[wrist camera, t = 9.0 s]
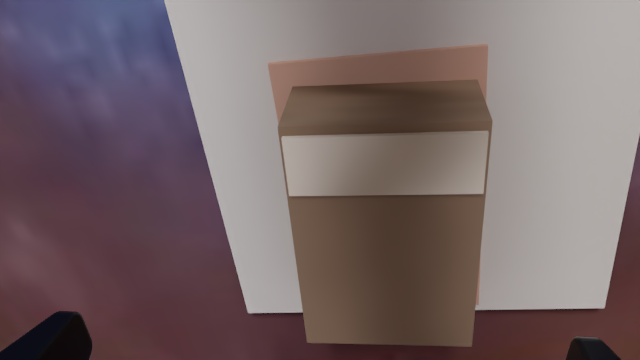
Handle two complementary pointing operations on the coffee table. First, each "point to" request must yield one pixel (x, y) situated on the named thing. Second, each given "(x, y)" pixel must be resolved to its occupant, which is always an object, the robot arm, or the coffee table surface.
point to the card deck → (387, 208)
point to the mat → (420, 66)
